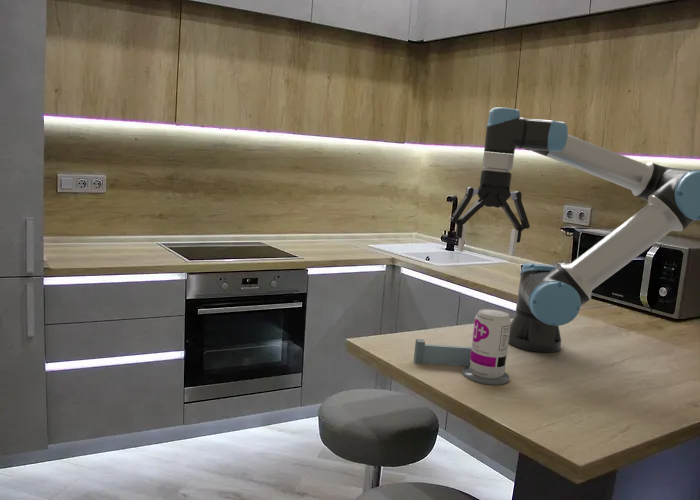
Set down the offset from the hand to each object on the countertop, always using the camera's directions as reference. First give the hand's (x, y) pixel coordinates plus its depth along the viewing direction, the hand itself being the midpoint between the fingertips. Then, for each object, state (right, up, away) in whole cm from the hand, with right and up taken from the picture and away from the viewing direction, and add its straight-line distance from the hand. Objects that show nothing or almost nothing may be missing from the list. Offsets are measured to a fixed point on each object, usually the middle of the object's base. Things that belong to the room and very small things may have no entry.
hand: (486, 252), depth 166 cm
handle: (-10, -28, -7) cm, 30 cm away
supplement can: (-3, -29, -13) cm, 32 cm away
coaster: (-3, -29, -13) cm, 32 cm away
